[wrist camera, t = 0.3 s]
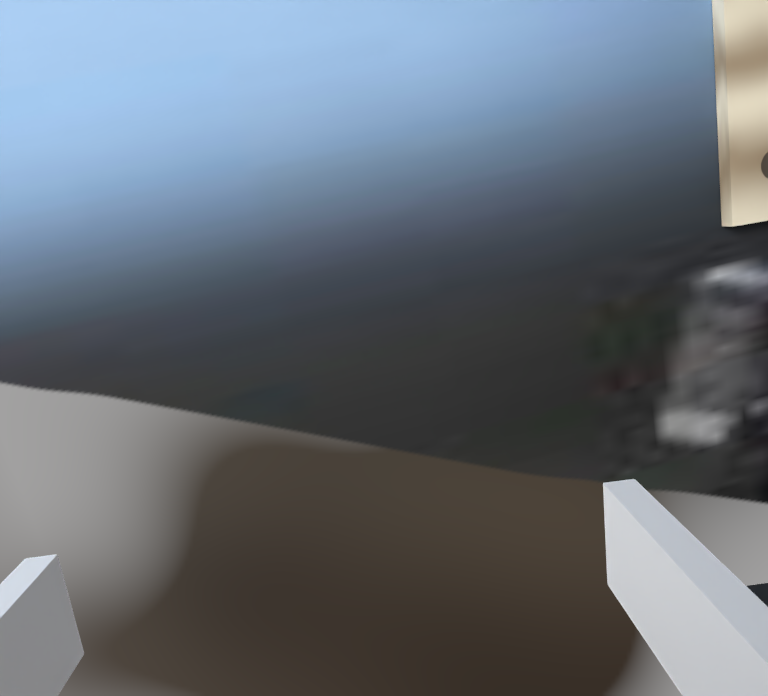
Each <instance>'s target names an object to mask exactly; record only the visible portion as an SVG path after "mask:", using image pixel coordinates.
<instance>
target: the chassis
mask: <svg viewBox="0 0 768 696" xmlns="http://www.w3.org/2000/svg"><path fill="white" fill-rule="evenodd" d="M712 11H713V34H714V57H715V80H716V103H717V126H718V149H719V172H720V195H721V218H722V226H727V227H734V226H739V225H745V224H751V223H757V222H762V221H768V0H712Z"/></svg>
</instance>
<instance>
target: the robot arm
mask: <svg viewBox="0 0 768 696" xmlns="http://www.w3.org/2000/svg"><path fill="white" fill-rule="evenodd" d="M603 491H604V492H603V494H604V516H605V539H606V560H607V584H608V586H609V587H610V589H611V590H612V592H613V593H614V595H615V596H616V598H617V599H618V601H619V602H620V604H621V605H622V607H623V608H624V610H625V611H626V613H627V614H628V615H629V617H630V619H631V620H632V621H633V623H634V624H635V626H636V627H637V629H638V630H639V632H640V633H641V635H642V636H643V638H644V639H645V641H646V642H647V644H648V645H649V647H650V648H651V650H652V651H653V653H654V654H655V656H656V657H657V659H658V660H659V662H660V663H661V665H662V666H663V668H664V669H665V671H666V672H667V673H668V675H669V677H670V678H671V680H672V681H673V683H674V684H675V685H676V687H677V689H678V690H679V691H680V693H681V694H682V696H768V583H765V584H758V585H750V586H746V585H744V583H742V582H741V581H740V580H739V579H738V578H737V577H736V576H735V575H734V574H733V573H732V572H731V571H730V570H729V569H728V568H727V567H726V566H725V565H724V564H723V563H722V562H721V561H719V560H718V559H717V558H716V557H715V556H714V555H713V554H712V553H711V552H710V551H709V550H708V549H707V548H706V547H705V546H704V545H703V544H702V543H701V542H700V541H699V540H698V539H697V538H696V537H695V536H693V535H692V534H691V533H690V532H689V531H688V530H687V529H686V528H685V527H684V526H683V525H682V524H681V523H680V522H679V521H678V520H677V519H676V518H675V517H674V516H673V515H672V514H671V513H669V512H668V511H667V510H666V509H665V508H664V507H663V506H662V505H661V504H660V503H659V502H658V501H657V500H656V499H655V498H654V497H653V496H652V495H651V494H650V493H649V492H648V491H647V490H646V489H644V488H643V487H642V486H641V485H640V484H639V483H638V482H637V481H636V480H635V479H630V480H623V481H615V482H607V483H603ZM83 655H84V651H83V648H82V644H81V640H80V636H79V632H78V629H77V625H76V622H75V617H74V614H73V610H72V606H71V603H70V599H69V595H68V592H67V588H66V584H65V581H64V577H63V573H62V569H61V565H60V562H59V558H58V555H57V554H56V555H48V556H40V557H33V558H25V560H23V561H22V562H21V563H20V565H18V567H17V568H16V569H15V570H14V571H13V572H12V573H11V574H10V575H9V576H8V577H7V578H6V579H5V580H4V581H3V582H2V583H1V584H0V696H58V694H59V693H60V691H61V690H62V688H63V687H64V685H65V683H66V682H67V680H68V679H69V677H70V675H71V674H72V672H73V671H74V669H75V667H76V666H77V664H78V663H79V661H80V659H81V658H82V656H83Z"/></svg>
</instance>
